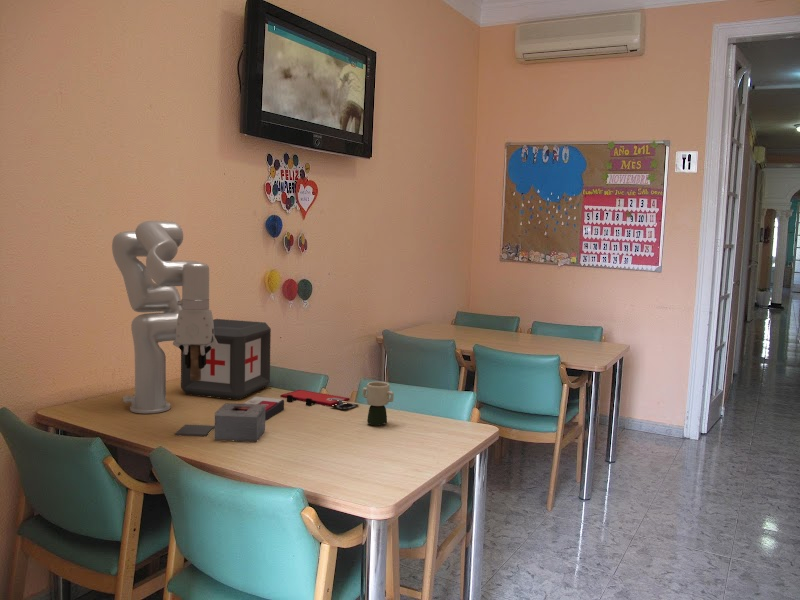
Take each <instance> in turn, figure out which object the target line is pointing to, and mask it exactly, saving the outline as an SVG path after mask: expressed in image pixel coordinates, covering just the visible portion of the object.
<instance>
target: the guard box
mask: <svg viewBox="0 0 800 600" xmlns="http://www.w3.org/2000/svg"><path fill="white" fill-rule="evenodd" d="M265 406H266V405H263V404H243V403H233V402H225V403H223V405H221V406H220V407H219V409H217V410H215V412H214V426H215V428H214V441H221V440H234V441H233V442H245V441H254V442H253V443H257V442H258V441H259V439H260V438H261V437H262V436H263V434H264V433H265V432H266V421H265ZM241 410H242V411H241ZM257 440H258V441H257Z"/></svg>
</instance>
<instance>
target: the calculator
mask: <svg viewBox="0 0 800 600" xmlns="http://www.w3.org/2000/svg"><path fill="white" fill-rule="evenodd" d="M242 404H263V405H266V406H265V422H266V421H268V420H269V419H271V418H273V417H275V416H276V415H277V414H279V413H281V412H283V411H285V400H284V399H283V398H273V397H264V396H253V397H252V398H250V399H248V400H246V401H245V402H243V403H242Z"/></svg>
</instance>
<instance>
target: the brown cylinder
mask: <svg viewBox="0 0 800 600" xmlns="http://www.w3.org/2000/svg"><path fill="white" fill-rule="evenodd" d="M200 353H201V350H200V345H190V380H191V381H199V380H201V369H200V368H199V355H200Z"/></svg>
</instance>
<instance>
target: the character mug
mask: <svg viewBox="0 0 800 600" xmlns="http://www.w3.org/2000/svg"><path fill="white" fill-rule="evenodd" d="M390 389H391V387H390V383H388V382H385V381H371V382H368V383H367V384H366V387H365V386H364V387H363V388H362V397H363V398H365V399H366V404H367V405H370V406H369V408H368V412H367V420H366V422H367V423H368V424H369V425H370V426H371V425H372V426H382V425H384V424H388V415H387V408H386V406H387V405H388V404H389V402H390V403H393V402H394V392H393V391H390ZM381 424H382V425H381Z"/></svg>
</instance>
